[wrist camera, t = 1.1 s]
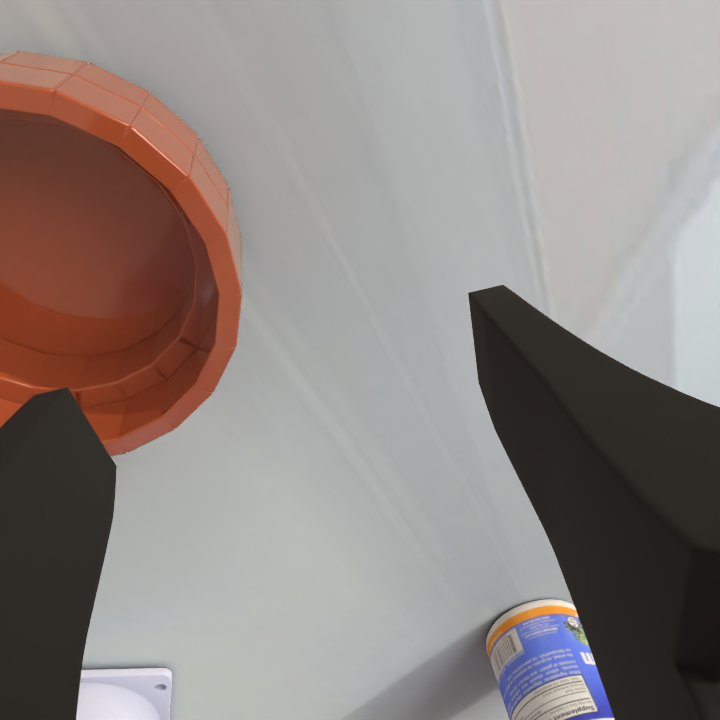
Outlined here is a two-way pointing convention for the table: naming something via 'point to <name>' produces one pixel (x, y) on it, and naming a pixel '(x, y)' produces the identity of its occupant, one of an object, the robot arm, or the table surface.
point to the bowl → (110, 251)
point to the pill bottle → (546, 664)
